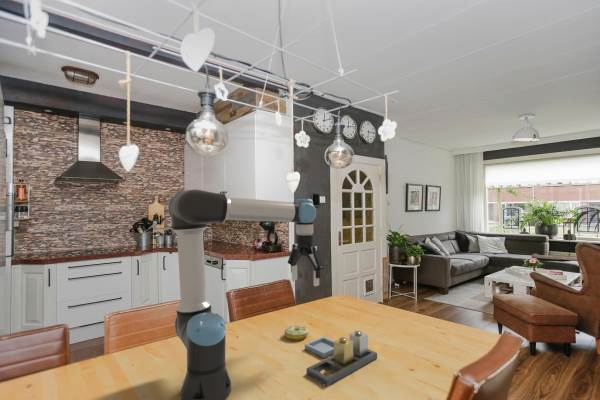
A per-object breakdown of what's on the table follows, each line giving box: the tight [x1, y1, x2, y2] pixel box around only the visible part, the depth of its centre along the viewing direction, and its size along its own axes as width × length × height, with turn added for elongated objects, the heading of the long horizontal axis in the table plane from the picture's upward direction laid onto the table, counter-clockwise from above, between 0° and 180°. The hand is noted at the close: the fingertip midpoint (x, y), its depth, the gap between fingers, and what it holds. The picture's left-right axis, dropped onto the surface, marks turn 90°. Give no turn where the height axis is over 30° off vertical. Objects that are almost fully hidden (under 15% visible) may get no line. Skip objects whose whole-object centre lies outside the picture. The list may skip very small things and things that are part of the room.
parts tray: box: [304, 336, 335, 360], centre depth 127 cm, size 11×11×2 cm
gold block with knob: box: [333, 337, 353, 367], centre depth 114 cm, size 5×5×10 cm
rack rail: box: [306, 348, 378, 387], centre depth 114 cm, size 28×10×2 cm, turn 132°
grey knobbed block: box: [348, 330, 369, 359], centre depth 120 cm, size 5×5×10 cm
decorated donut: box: [284, 325, 309, 341], centre depth 140 cm, size 10×11×4 cm
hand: (305, 282), depth 135 cm, fingers open, 13 cm apart
